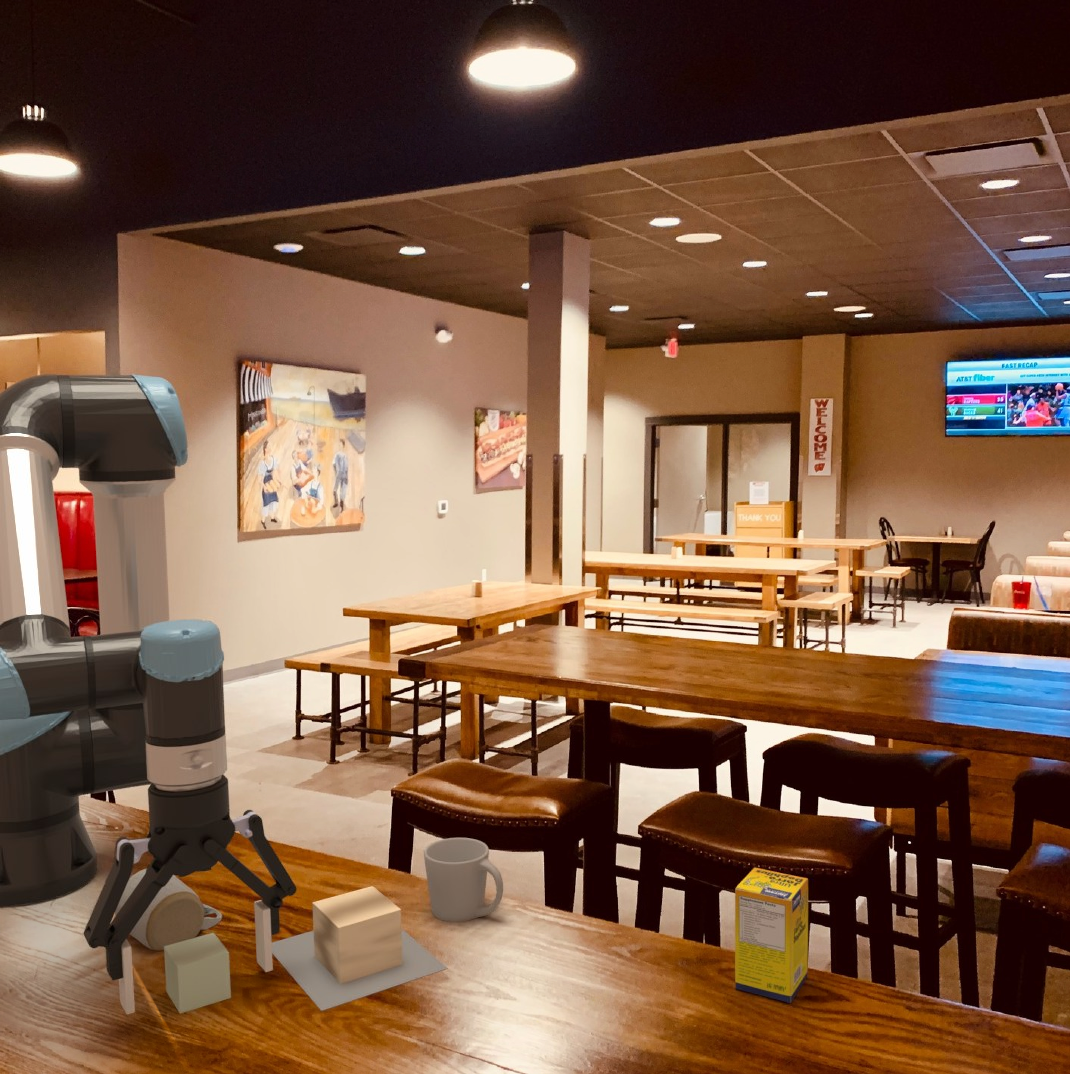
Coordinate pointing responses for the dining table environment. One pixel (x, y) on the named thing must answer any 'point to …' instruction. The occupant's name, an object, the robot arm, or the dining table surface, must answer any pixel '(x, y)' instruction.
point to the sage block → (197, 972)
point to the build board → (331, 993)
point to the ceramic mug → (169, 914)
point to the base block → (357, 934)
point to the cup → (460, 879)
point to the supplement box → (771, 934)
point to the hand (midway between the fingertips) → (198, 986)
